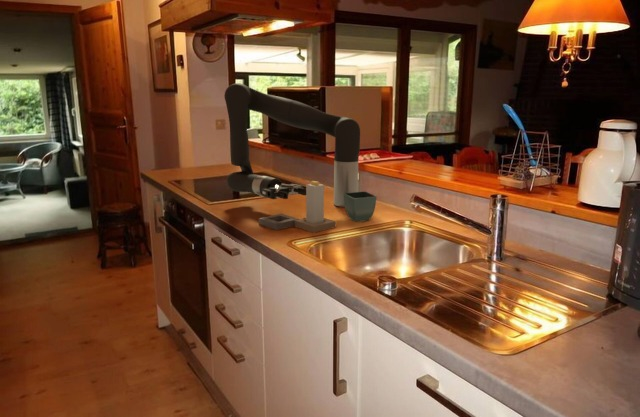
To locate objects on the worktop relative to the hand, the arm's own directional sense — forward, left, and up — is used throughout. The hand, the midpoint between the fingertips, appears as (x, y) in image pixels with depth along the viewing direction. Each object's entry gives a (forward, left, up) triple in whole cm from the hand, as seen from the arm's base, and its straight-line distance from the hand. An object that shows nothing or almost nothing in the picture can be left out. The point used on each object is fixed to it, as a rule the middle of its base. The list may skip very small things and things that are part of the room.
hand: (297, 194), depth 163 cm
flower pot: (-17, +13, -10) cm, 23 cm away
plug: (0, +9, -9) cm, 13 cm away
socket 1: (+7, -1, -9) cm, 12 cm away
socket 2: (0, +9, -9) cm, 13 cm away
